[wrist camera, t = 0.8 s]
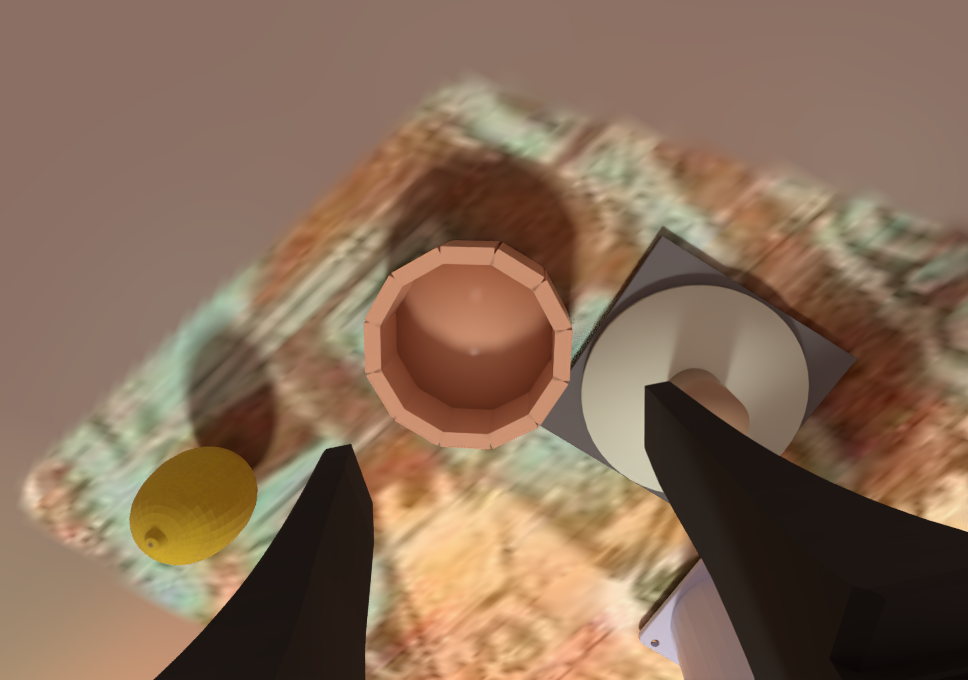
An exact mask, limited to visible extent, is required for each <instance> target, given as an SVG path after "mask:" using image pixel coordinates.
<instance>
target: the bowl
mask: <svg viewBox="0 0 968 680" xmlns="http://www.w3.org/2000/svg"><path fill="white" fill-rule="evenodd" d="M499 246H500V247H499ZM364 320H366V321H365V322H364V349H365V372H368V374H367V375H366V376H367V378H368V379H369V381H370V383H371V384H372V386H373V387H374V389H375V391H376V392H377V394H378V396H379V397H380V399H381V401H382V402H383V404H384V405H385V407H386V409H387V410H388V412H389V414H390V415H391V417H392V418H393V417H395V416H397V417H396V419H395V421H396V422H398V423H400V424H402V425H403V426H405V427H407V428H408V429H410V430H412V431H413V432H415V433H417V434H418V435H420V436H422V437H424V438H425V439H427V440H429V441H430V442H432V443H434V444H435V445H438V444H439V442H440V441H441V447H456V448H475V449H490V447H491V445H492V447H493V449H494V448H496V447H498V446H500V445H502V444H504V443H506V442H508V441H510V440H513V439H515V438H517V437H519V436H521V435H523V434H525V433H527V432H529V431H531V430H534V429H536V428H538V424H539V425H541V424H542V422H543V421H544V419H545V418H546V416H547V415H548V414H549V412H550V411H551V409H552V408H553V406H554V405H555V403H556V402H557V400H558V399H559V397H560V396H561V395H562V393H563V392H564V390H565V389H566V387H567V386H568V381H570V365H571V347H572V326H571V323H570V319H569V316H568V312H567V309H566V307H565V306H564V304H563V302H562V300H561V298H560V296H559V294H558V292H557V290H556V289H555V287H554V285H553V283H552V281H551V279H550V277H549V275H548V273H547V272H546V270H543V267H542V266H541V265H539V264H537V263H536V262H534V261H533V260H531V259H529V258H528V257H526V256H524V255H523V254H521V253H520V252H518V251H516V250H515V249H513V248H511V247H510V246H508V245H507V244H505V243H502V244H501V245H500V241H472V240H452V241H448V242H446V243H444V244H442V245H440V246H438V247H437V248H435V249H433V250H431V251H429V252H428V253H426V254H424V255H422V256H421V257H419V258H417V259H415V260H413V261H412V262H410V263H408V264H406V265H405V266H403V267H401V268H399V269H398V270H396V271H394V272H392V274H391V275H389V276H388V278H387V280H386V282H385V283H384V285H383V287H382V289H381V291H380V292H379V294H378V296H377V298H376V300H375V301H374V303H373V305H372V307H371V309H370V310H369V312H368V314H367V316H366V318H365V319H364Z"/></svg>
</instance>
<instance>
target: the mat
mask: <svg viewBox="0 0 968 680" xmlns="http://www.w3.org/2000/svg"><path fill="white" fill-rule="evenodd" d="M684 285H712V286H719V287H724V288H728V289H732V290H735V291H738V292H740V293H743V294H746V295H748V296H750V297H752V298H754V299H755V300H757V301H759V302H761V303H763V304H764V305H766V306H767V307H768V308H770V309H771V310H772V311H774V312H775V313H776V314H777V315H778V316H779V317H780V318H781V319H782V320H783V321H784V322H785V323H786V324H787V326H788V327H789V328H790V329H791V331H792V332H793V333H794V335H795V337H796V339H797V341H798V342H799V344H800V346H801V349H802V352H803V354H804V357H805V360H806V365H807V370H808V380H809V391H808V401H807V405H806V410H805V414H804V417H803V419H802V422H801V425H800V427H801V426H802V425H803V423H804V422H805V421H806V420H807V419H808V417H809V416H810V415H811V414H812V413H813V411H814V410H815V409H816V408H817V406H818V405H819V404H820V403H821V402H822V400H823V399H824V398H825V397H826V396H827V394H828V393H829V392H830V391H831V390H832V388H833V387H834V386H835V385H836V384H837V382H838V381H839V380H840V379H841V377H842V376H843V375H844V374H845V373H846V371H847V370H848V369H849V368H850V367H851V365H852V364H853V363H854V362H855V361H856V359H857V358H855V357H854V356H852V355H851V354H849V353H847V352H846V351H844V350H843V349H841V348H839V347H838V346H836V345H835V344H833V343H832V342H830V341H828V340H827V339H825V338H824V337H822V336H820V335H819V334H817V333H816V332H814V331H812V330H811V329H809V328H808V327H806V326H805V325H803V324H801V323H800V322H798V321H797V320H795V319H793V318H792V317H790V316H789V315H787V314H785V313H784V312H782V311H781V310H779V309H777V308H776V307H774V306H773V305H771V304H770V303H768V302H766V301H765V300H763V299H762V298H760V297H758V296H757V295H755V294H754V293H752V292H750V291H749V290H747V289H746V288H744V287H743V286H741V285H739V284H738V283H736V282H735V281H733V280H731V279H730V278H728V277H727V276H725V275H723V274H722V273H720V272H719V271H717V270H716V269H714V268H712V267H711V266H709V265H708V264H706V263H704V262H703V261H701V260H700V259H698V258H696V257H695V256H693V255H692V254H690V253H688V252H687V251H685V250H684V249H682V248H681V247H679V246H677V245H676V244H674V243H673V242H671V241H669V240H668V239H666V238H665V237H663V236H660V238H659V239H658V241H657V242H656V244H655V245H654V247H653V248H652V249H651V251H650V252H649V254H648V255H647V257H646V258H645V260H644V261H643V263H642V264H641V266H640V267H639V269H638V270H637V272H636V273H635V274H634V276H633V277H632V279H631V280H630V282H629V283H628V285H627V286H626V288H625V289H624V291H623V292H622V294H621V295H620V296H619V298H618V299H617V301H616V302H615V304H614V305H613V307H612V308H611V310H610V311H609V313H608V314H607V316H606V317H605V319H604V320H603V321H602V323H601V324H600V326H599V327H598V329H597V330H596V332H595V333H594V335H593V336H592V338H591V339H590V341H589V342H588V344H587V345H586V346H585V348H584V349H583V351H582V352H581V354H580V355H579V357H578V358H577V360H576V361H575V363H574V364H573V366H572V367H571V369H570V381H568V386H567V387H566V389H565V390H564V392H563V393H562V395H561V396H560V397H559V399H558V400H557V402H556V403H555V405H554V406H553V408H552V409H551V411H550V412H549V414H548V415H547V416H546V418H545V419H544V421H543V422H542V424H541V425H540V426H542V427H543V428H545V429H547V430H548V431H550V432H552V433H553V434H555V435H557V436H558V437H560V438H562V439H563V440H565V441H567V442H568V443H570V444H572V445H573V446H575V447H577V448H578V449H580V450H582V451H583V452H585V453H587V454H588V455H590V456H592V457H593V458H595V459H597V460H598V461H600V462H602V463H603V464H605V465H607V466H608V467H610V468H612V469H613V470H615V471H617V470H616V469H615V468H614V467H613V466H612V465H611V464H610V463H609V462H608V461H607V460H606V459H605V458H604V456H603V455H602V454H601V453H600V451H599V450H598V448H597V447H596V445H595V444H594V442H593V440H592V438H591V436H590V433H589V431H588V429H587V425H586V422H585V419H584V414H583V408H582V402H581V385H582V377H583V372H584V368H585V364H586V361H587V358H588V356H589V354H590V351H591V349H592V347H593V345H594V344H595V342H596V340H597V339H598V337H599V335H600V334H601V333H602V332H603V330H604V329H605V328H606V326H607V325H608V324H609V323H610V322H611V321H612V320H613V319H614V318H615V317H616V316H617V315H618V314H619V313H621V312H622V311H623V310H625V309H626V308H627V307H629V306H630V305H632V304H633V303H635V302H637V301H638V300H640V299H642V298H644V297H646V296H648V295H651V294H653V293H655V292H658V291H661V290H665V289H668V288H672V287H678V286H684ZM538 425H539V424H538ZM800 427H799V428H800ZM617 472H618V473H620V472H619V471H617ZM620 474H621V473H620ZM622 475H623V474H622ZM623 476H624V475H623ZM625 477H626V476H625ZM628 479H629V478H628ZM633 482H634V481H633ZM635 483H636V482H635ZM637 484H638V483H637ZM638 485H640V484H638ZM640 486H642V485H640ZM642 487H643V488H645V489H647V490H648V491H650V492H652V493H653V494H655V495H657V496H658V497H660V498H662V499H663V500H665V501H667V502H668V503H669V501H668V499H667V497H666V496H665V494H664V492H660V491H656V490H653V489H650V488H647V487H644V486H642Z"/></svg>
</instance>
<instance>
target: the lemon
mask: <svg viewBox="0 0 968 680" xmlns="http://www.w3.org/2000/svg"><path fill="white" fill-rule="evenodd" d="M257 491H258V489H257V482H256V477H255V475H254V473H253V471H252V469H251V467H250V466H249V465H248V463H247V462H246V461H245V460H244V459H243V458H242V457H241V456H239V455H238V454H236V453H234V452H232V451H230V450H228V449H224V448H220V447H207V446H206V447H199V448H195V449H190V450H187V451H184V452H182V453H180V454H178V455H177V456H175V457H173V458H171V459H169V460H167V461H166V462H164V463H163V464H162V465H161V466H160V467H159V468H158V469H157V470H156V471H155V472H154V473H153V474H152V475H151V476H150V477H149V478H148V479H147V480H146V481H145V482H144V484H143V485H142V486H141V488H140V490H139V491H138V493H137V495H136V497H135V499H134V501H133V503H132V507H131V513H130V529H131V533H132V536H133V538H134V541H135V542H136V544H137V545H138V547H139V548H140V549H141V550H142V551H143V552H144V553H145V554H146V555H148V556H149V557H151V558H152V559H154V560H156V561H159V562H161V563H166V564H171V565H186V564H192V563H195V562H198V561H201V560H204V559H206V558H208V557H210V556H212V555H213V554H215V553H217V552H218V551H219V550H221V549H222V548H224V547H225V546H227V545H228V544H229V543H231V542H232V541H233V540H234V539H235V538H236V537H237V536H238V534H239V533H240V532H241V531H242V530H243V528H244V527H245V526H246V525H247V523H248V521H249V520H250V518H251V515H252V513H253V510H254V508H255V505H256V501H257Z"/></svg>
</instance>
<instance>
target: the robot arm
mask: <svg viewBox="0 0 968 680" xmlns="http://www.w3.org/2000/svg"><path fill="white" fill-rule="evenodd" d="M644 448H645V451H646V453H647V456H648V458H649V461H650V463H651V466H652V468H653V471H654V473H655V475H656V478H657V480H658V483H659V485H660V487H661V488H662V490H663V492H664V494H665V496H666V497H667V499H668V501H669V503H670V504H671V506H672V508H673V510H674V512H675V513H676V515H677V517H678V519H679V520H680V522H681V524H682V526H683V527H684V529H685V531H686V533H687V534H688V536H689V538H690V540H691V541H692V543H693V545H694V547H695V548H696V550H697V552H698V554H699V555H700V557H701V558H700V560H699V561H698V562H697V563H696V564H695V566H694V567H693V568H692V569H691V570H690V572H689V573H688V574H687V575H686V576H685V578H684V579H683V580H682V581H681V582H680V584H679V585H678V586H677V587H676V588H675V590H674V591H673V592H672V593H671V594H670V596H669V597H668V598H667V599H666V600H665V602H664V603H663V604H662V605H661V606H660V608H659V609H658V610H657V611H656V612H655V614H654V615H653V616H652V617H651V618H650V620H649V621H648V622H647V623H646V624H645V626H644V627H643V628H642V629H641V630H640V632H639V639H640V642H641V643H642V644H643V645H645V646H647V647H649V648H650V649H652V650H654V651H655V652H657V653H659V654H661V655H662V656H664V657H666V658H667V659H669V660H671V661H673V662H674V663H676V664H678V665H679V666H680V667H681V670H682V673H683V677H684V680H968V532H966V531H963V530H960V529H956V528H953V527H950V526H946V525H943V524H940V523H936V522H933V521H930V520H926V519H923V518H920V517H917V516H915V515H912V514H909V513H906V512H903V511H901V510H898V509H895V508H892V507H889V506H887V505H884V504H882V503H879V502H876V501H874V500H871V499H869V498H866V497H864V496H861V495H859V494H857V493H854V492H852V491H850V490H848V489H845V488H843V487H841V486H838V485H836V484H834V483H832V482H829V481H827V480H825V479H823V478H821V477H819V476H817V475H815V474H813V473H811V472H809V471H807V470H805V469H803V468H801V467H799V466H797V465H795V464H793V463H791V462H790V461H788V460H786V459H784V458H782V457H781V456H779V455H777V454H775V453H774V452H772V451H770V450H769V449H767V448H765V447H764V446H762V445H760V444H759V443H757V442H755V441H754V440H752V439H751V438H749V437H747V436H746V435H744V434H743V433H741V432H740V431H738V430H737V429H735V428H734V427H732V426H731V425H729V424H728V423H727V422H725V421H724V420H722V419H721V418H719V417H718V416H716V415H715V414H714V413H712V412H711V411H710V410H708V409H707V408H705V407H704V406H703V405H701V404H700V403H699V402H697V401H696V400H694V399H693V398H692V397H690V396H689V395H688V394H686V393H685V392H684V391H682V390H681V389H680V388H678V387H677V386H675V385H674V384H673V383H671V382H670V381H666V382H661V383H656V384H651V385H645V392H644ZM373 547H374V526H373V503H372V500H371V497H370V494H369V492H368V489H367V486H366V483H365V481H364V478H363V475H362V473H361V470H360V467H359V464H358V462H357V459H356V456H355V453H354V451H353V448H352V445H351V444H349V445H344V446H339V447H334V448H329V449H326V450H325V451H324V452H323V454H322V456H321V458H320V460H319V461H318V463H317V465H316V467H315V469H314V471H313V473H312V475H311V477H310V479H309V481H308V482H307V484H306V486H305V488H304V490H303V492H302V493H301V495H300V497H299V499H298V500H297V502H296V504H295V506H294V507H293V509H292V511H291V512H290V514H289V516H288V518H287V519H286V521H285V523H284V524H283V526H282V527H281V529H280V530H279V532H278V534H277V535H276V537H275V538H274V540H273V541H272V543H271V544H270V546H269V547H268V549H267V550H266V552H265V553H264V555H263V556H262V558H261V559H260V561H259V562H258V563H257V565H256V566H255V568H254V569H253V570H252V572H251V573H250V575H249V576H248V577H247V578H246V580H245V581H244V582H243V584H242V585H241V586H240V588H239V589H238V590H237V591H236V593H235V594H234V595H233V596H232V598H231V599H230V600H229V601H228V602H227V603H226V605H225V606H224V607H223V608H222V609H221V610H220V612H219V613H218V614H217V615H216V616H215V617H214V618H213V620H212V621H211V622H210V623H209V624H208V625H207V626H206V628H205V629H204V630H203V631H202V632H201V633H200V634H199V635H198V636H197V637H196V638H195V639H194V640H193V641H192V643H191V644H190V645H189V646H188V647H187V648H186V649H185V650H184V651H183V652H182V653H181V654H180V655H179V656H178V657H177V658H176V659H175V660H174V661H173V662H172V663H171V664H170V665H169V666H168V667H166V668H165V669H164V670H163V671H162V672H161V673H160V674H159V675H158V676H157V677H156V678H155V679H154V680H365V643H366V627H367V616H368V605H369V594H370V583H371V571H372V560H373ZM655 639H656V640H658V641H656V642H651V641H652V640H655Z"/></svg>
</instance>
